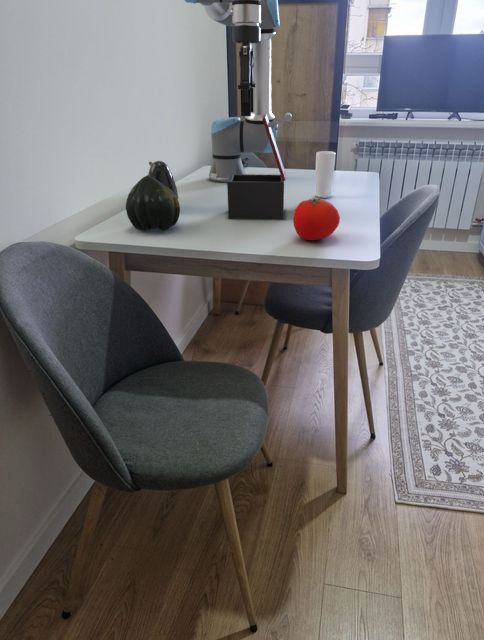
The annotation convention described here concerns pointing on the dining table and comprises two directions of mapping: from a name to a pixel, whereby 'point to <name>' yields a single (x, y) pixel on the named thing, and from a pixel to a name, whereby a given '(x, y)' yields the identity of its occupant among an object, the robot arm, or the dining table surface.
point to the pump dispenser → (162, 175)
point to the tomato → (315, 219)
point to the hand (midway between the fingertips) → (247, 114)
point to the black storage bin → (255, 196)
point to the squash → (152, 205)
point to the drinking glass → (324, 173)
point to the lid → (272, 141)
